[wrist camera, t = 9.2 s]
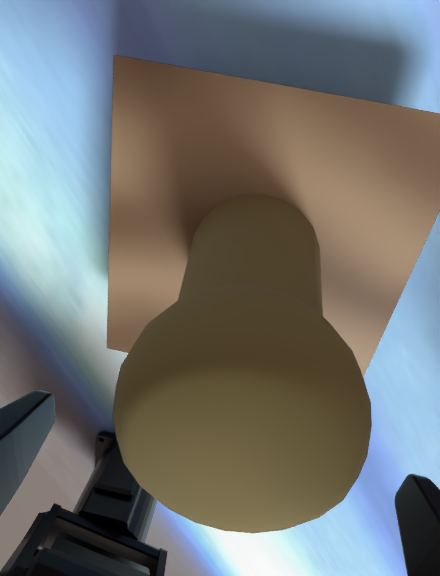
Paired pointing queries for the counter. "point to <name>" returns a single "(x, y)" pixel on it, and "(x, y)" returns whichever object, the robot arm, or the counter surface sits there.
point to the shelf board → (265, 187)
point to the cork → (245, 381)
